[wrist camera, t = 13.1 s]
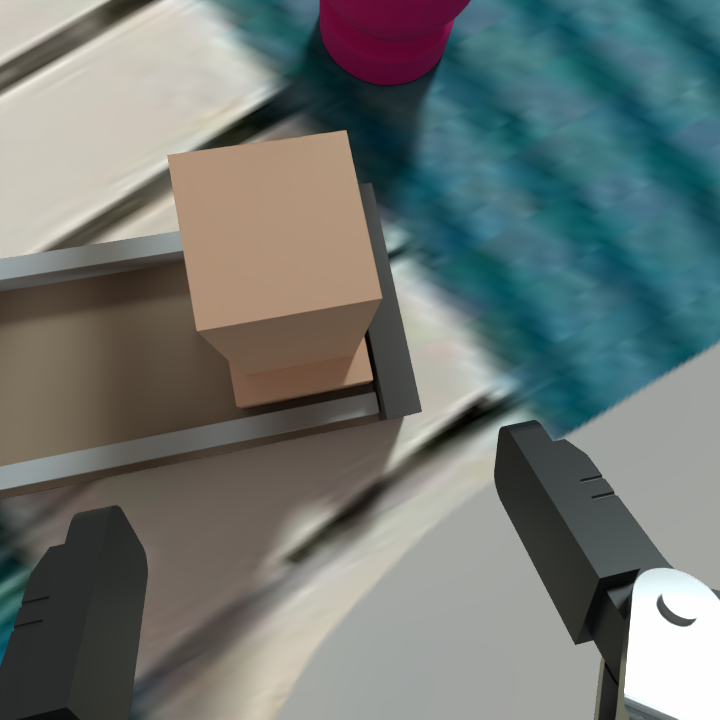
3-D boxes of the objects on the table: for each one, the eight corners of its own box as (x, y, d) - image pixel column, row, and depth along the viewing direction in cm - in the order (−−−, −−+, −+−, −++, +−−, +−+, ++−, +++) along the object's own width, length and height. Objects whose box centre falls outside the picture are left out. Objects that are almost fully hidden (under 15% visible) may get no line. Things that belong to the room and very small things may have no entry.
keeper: (338, 245, 22) (359, 87, 12) (367, 385, 21) (414, 338, 11) (218, 264, 21) (137, 116, 12) (243, 409, 21) (180, 382, 11)
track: (362, 221, 24) (371, 182, 20) (404, 416, 23) (422, 411, 19) (-110, 297, 22) (-197, 268, 18) (-91, 517, 20) (-178, 534, 17)
